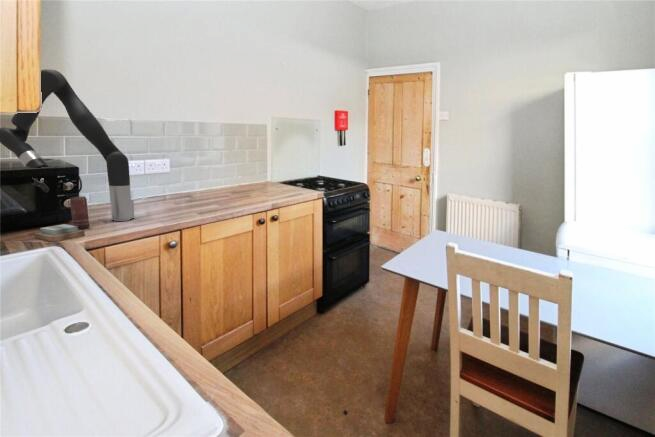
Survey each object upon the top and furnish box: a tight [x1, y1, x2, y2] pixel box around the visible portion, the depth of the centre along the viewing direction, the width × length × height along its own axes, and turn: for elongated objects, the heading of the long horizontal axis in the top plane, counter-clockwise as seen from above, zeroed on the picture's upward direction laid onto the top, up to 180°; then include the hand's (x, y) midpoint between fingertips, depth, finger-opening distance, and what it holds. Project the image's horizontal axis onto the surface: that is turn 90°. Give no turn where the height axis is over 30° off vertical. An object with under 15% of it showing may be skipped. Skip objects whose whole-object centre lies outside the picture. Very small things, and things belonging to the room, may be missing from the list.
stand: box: [33, 223, 86, 242], centre depth 150 cm, size 12×12×4 cm
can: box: [69, 196, 90, 230], centre depth 165 cm, size 6×6×14 cm
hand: (57, 190), depth 166 cm, fingers open, 8 cm apart
